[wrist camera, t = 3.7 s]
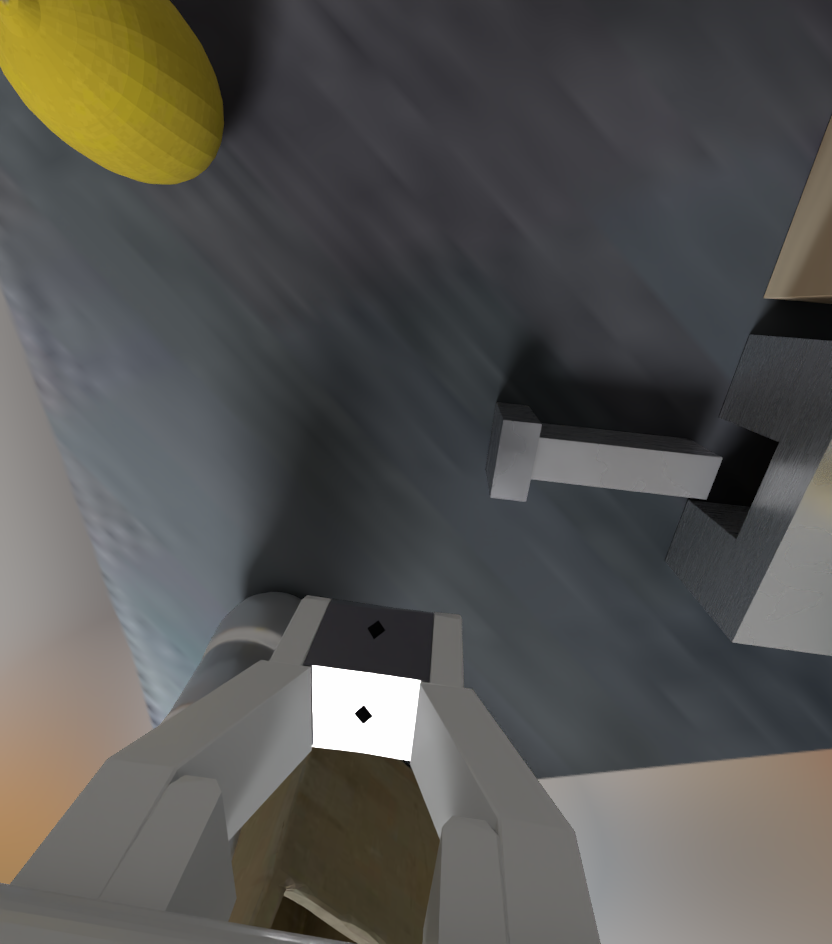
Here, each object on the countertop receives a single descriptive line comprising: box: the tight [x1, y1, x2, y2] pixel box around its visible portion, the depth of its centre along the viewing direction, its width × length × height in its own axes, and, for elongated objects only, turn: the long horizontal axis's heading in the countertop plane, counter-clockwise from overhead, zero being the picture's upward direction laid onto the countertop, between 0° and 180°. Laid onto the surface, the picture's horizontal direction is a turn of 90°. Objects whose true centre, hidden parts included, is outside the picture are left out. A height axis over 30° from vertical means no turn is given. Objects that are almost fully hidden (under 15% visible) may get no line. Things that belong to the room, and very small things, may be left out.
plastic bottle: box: [160, 592, 301, 862], centre depth 18 cm, size 6×7×20 cm
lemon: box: [0, 0, 224, 184], centre depth 14 cm, size 6×6×8 cm
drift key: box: [485, 402, 723, 502], centre depth 19 cm, size 10×4×4 cm, turn 85°
